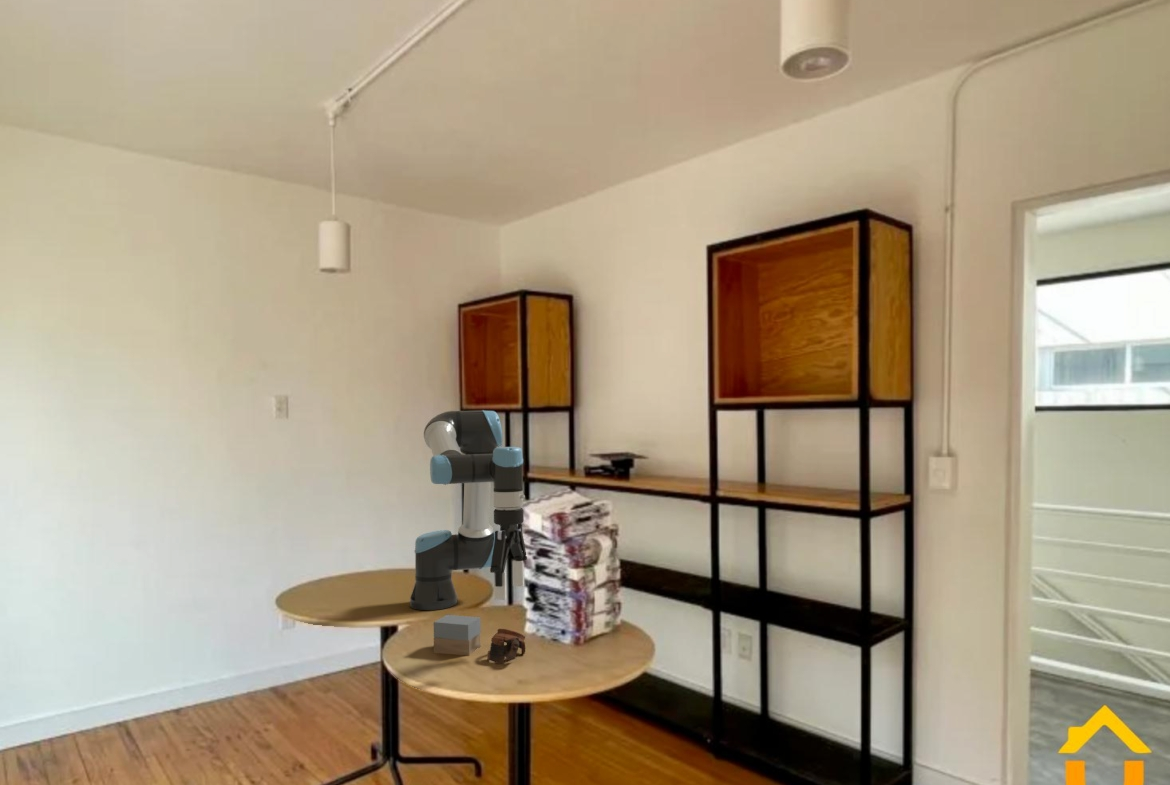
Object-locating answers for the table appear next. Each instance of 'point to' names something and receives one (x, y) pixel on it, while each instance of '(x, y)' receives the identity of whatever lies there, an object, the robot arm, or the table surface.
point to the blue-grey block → (457, 627)
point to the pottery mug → (501, 650)
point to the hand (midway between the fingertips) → (509, 592)
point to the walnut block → (456, 646)
